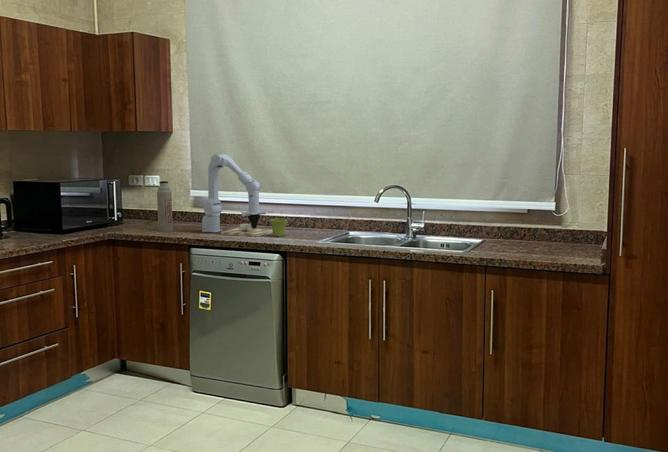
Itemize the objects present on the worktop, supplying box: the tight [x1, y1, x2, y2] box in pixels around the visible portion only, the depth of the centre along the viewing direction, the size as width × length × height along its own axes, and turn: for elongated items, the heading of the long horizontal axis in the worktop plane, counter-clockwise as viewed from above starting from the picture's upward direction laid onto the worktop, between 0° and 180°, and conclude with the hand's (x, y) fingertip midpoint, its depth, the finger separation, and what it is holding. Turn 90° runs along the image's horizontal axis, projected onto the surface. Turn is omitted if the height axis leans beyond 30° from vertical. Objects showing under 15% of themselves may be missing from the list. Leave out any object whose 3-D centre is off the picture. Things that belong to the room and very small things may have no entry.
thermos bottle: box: [156, 180, 174, 232], centre depth 382 cm, size 8×8×28 cm
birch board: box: [220, 227, 273, 238], centre depth 370 cm, size 22×18×2 cm
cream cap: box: [239, 223, 251, 231], centre depth 368 cm, size 10×6×3 cm, turn 22°
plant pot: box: [269, 218, 288, 237], centre depth 361 cm, size 9×9×9 cm
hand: (254, 228), depth 367 cm, fingers closed
